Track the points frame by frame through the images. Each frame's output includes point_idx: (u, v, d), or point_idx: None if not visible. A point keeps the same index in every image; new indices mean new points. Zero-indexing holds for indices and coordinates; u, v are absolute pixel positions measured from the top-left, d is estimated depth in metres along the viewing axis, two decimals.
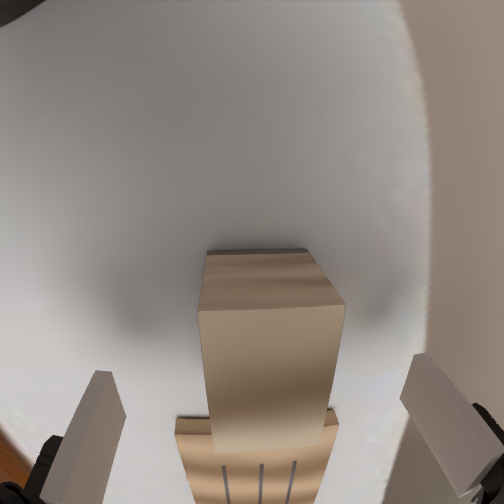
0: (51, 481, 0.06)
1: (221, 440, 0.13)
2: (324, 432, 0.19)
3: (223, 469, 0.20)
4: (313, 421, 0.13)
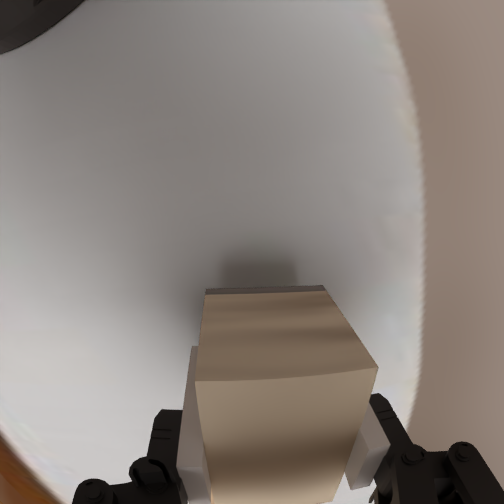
0: (185, 449, 0.08)
1: (224, 501, 0.10)
2: None
3: None
4: (328, 482, 0.10)
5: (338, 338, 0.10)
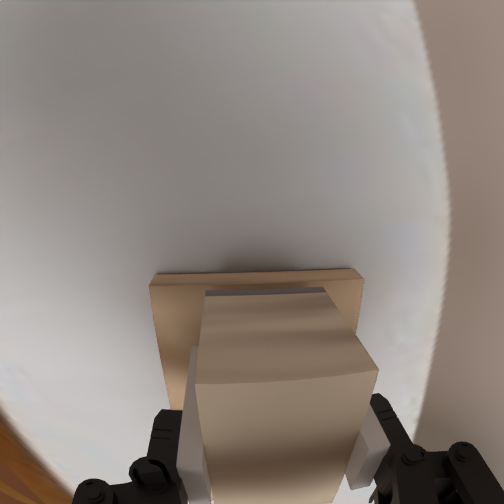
0: (185, 449, 0.08)
1: (224, 503, 0.10)
2: (345, 292, 0.16)
3: None
4: (329, 483, 0.10)
5: (338, 340, 0.10)
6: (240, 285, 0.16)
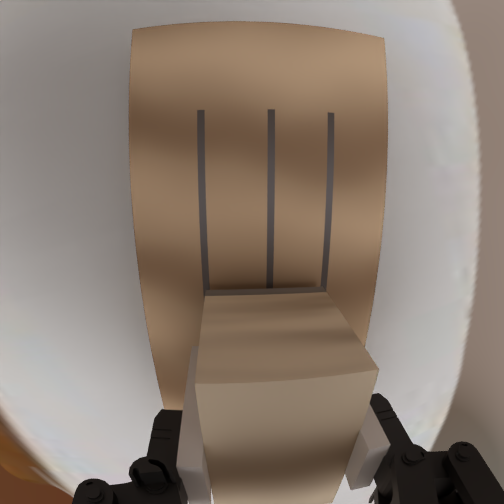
0: (185, 449, 0.08)
1: (224, 503, 0.10)
2: (366, 48, 0.11)
3: (199, 124, 0.12)
4: (329, 483, 0.10)
5: (338, 340, 0.10)
6: (240, 22, 0.11)
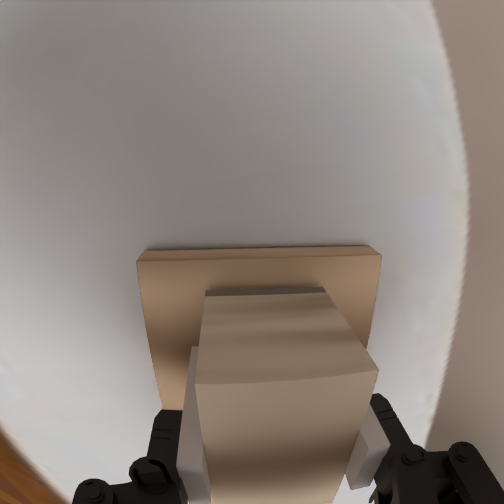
0: (184, 449, 0.08)
1: (224, 503, 0.10)
2: (361, 270, 0.14)
3: None
4: (328, 483, 0.10)
5: (338, 340, 0.10)
6: (241, 260, 0.14)
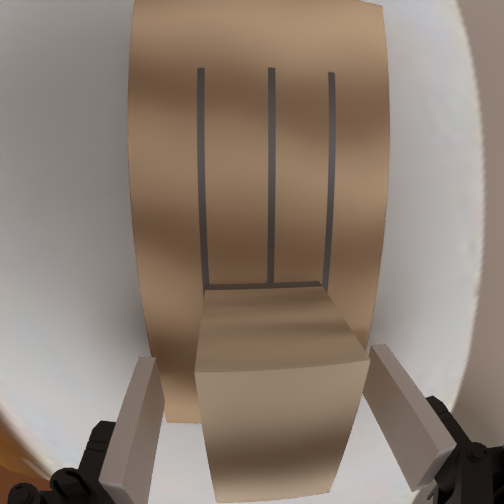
0: (109, 464, 0.07)
1: (224, 491, 0.10)
2: (364, 14, 0.11)
3: (199, 82, 0.11)
4: (325, 473, 0.10)
5: (332, 332, 0.10)
6: None
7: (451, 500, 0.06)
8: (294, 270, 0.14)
